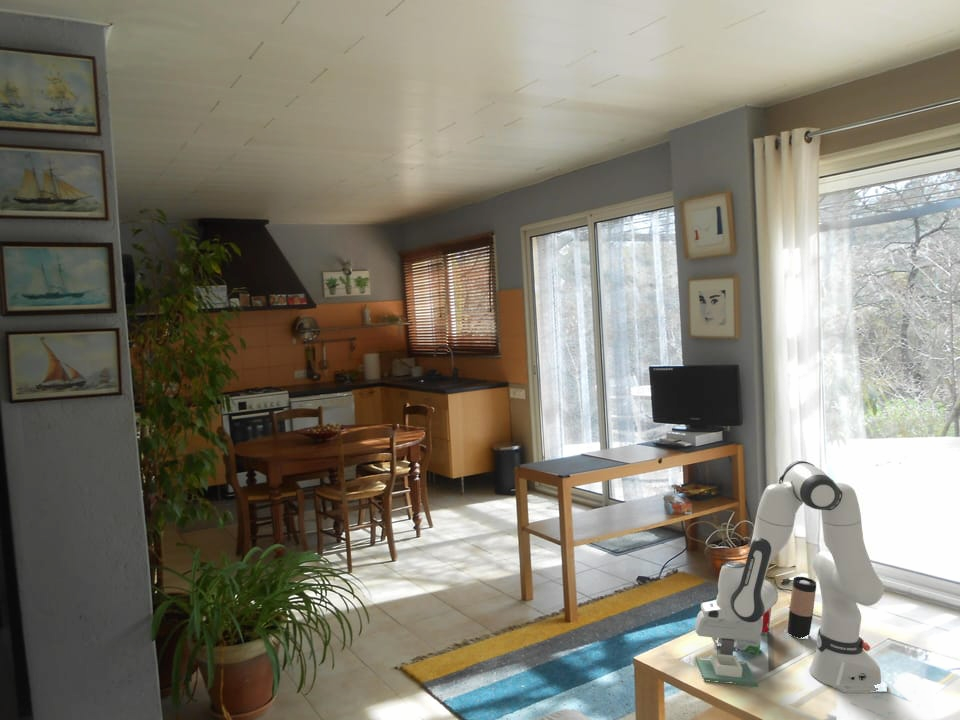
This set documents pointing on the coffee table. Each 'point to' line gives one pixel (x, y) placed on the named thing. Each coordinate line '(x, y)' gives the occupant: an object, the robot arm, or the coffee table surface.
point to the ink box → (751, 643)
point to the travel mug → (801, 606)
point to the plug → (725, 646)
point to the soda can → (766, 621)
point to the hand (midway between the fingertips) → (725, 650)
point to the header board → (726, 670)
